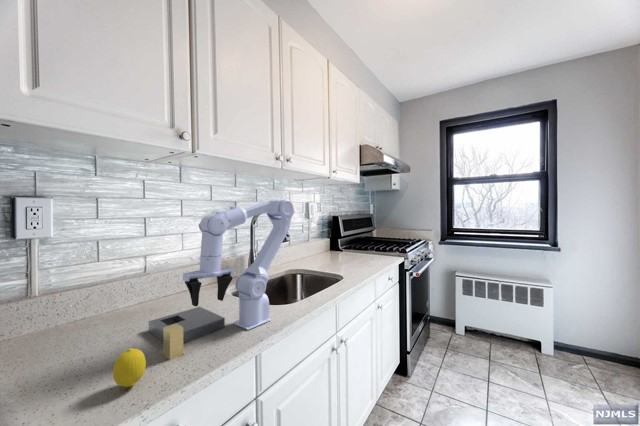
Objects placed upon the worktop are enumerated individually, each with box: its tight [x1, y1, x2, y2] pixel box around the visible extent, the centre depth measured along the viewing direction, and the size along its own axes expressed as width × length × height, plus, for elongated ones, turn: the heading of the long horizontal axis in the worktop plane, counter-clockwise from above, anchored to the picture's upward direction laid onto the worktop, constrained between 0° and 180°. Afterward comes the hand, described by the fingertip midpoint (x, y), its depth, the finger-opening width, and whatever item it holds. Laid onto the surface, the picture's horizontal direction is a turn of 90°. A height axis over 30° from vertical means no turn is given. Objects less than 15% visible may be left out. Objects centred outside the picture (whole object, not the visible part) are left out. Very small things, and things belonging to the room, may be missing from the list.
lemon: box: [112, 347, 147, 388], centre depth 54 cm, size 6×6×8 cm
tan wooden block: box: [162, 323, 184, 361], centre depth 66 cm, size 3×4×7 cm
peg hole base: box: [148, 306, 226, 344], centre depth 81 cm, size 16×16×3 cm
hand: (208, 302), depth 75 cm, fingers open, 7 cm apart
